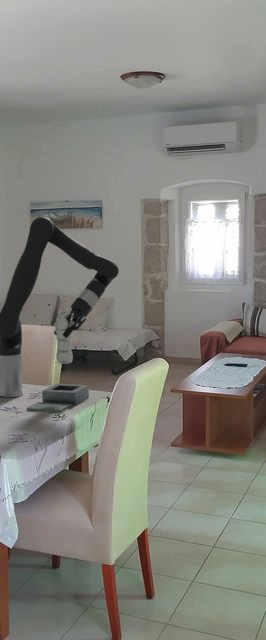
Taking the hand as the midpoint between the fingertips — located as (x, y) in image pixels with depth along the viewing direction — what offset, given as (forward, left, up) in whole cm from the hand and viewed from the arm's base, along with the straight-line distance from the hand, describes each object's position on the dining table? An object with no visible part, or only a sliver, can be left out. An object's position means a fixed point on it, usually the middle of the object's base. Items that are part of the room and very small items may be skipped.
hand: (60, 335), depth 252 cm
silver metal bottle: (+1, +1, -12) cm, 12 cm away
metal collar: (+1, +1, -26) cm, 26 cm away
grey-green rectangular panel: (0, -12, -26) cm, 29 cm away
